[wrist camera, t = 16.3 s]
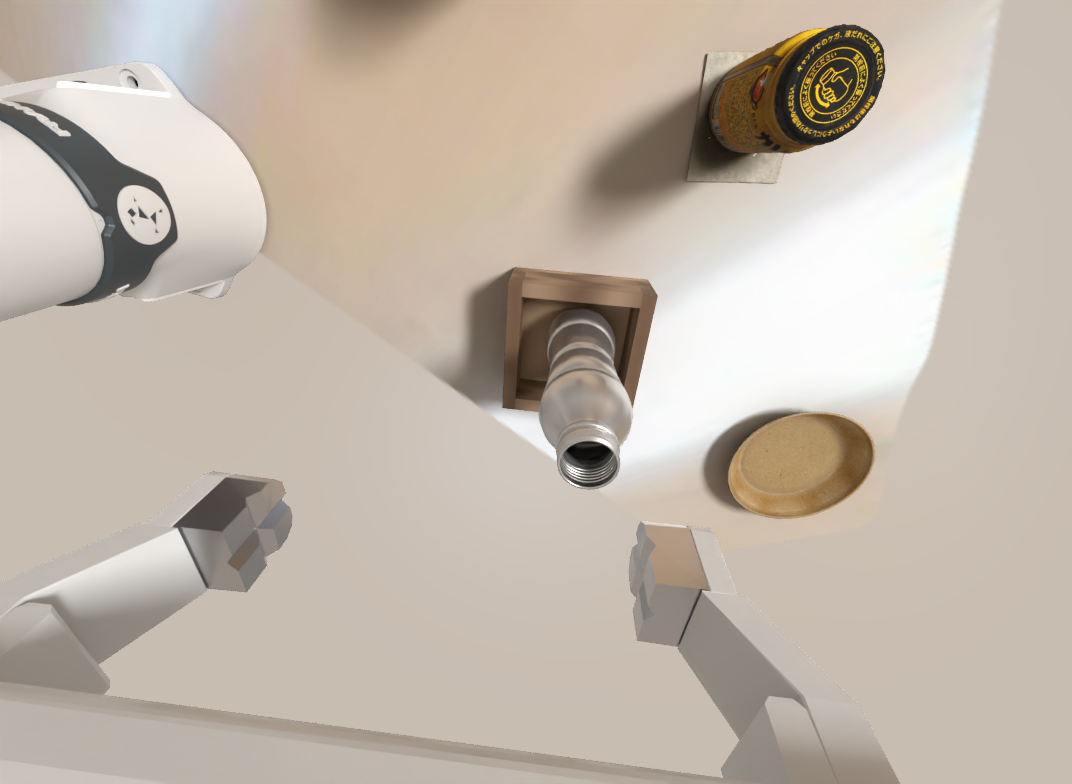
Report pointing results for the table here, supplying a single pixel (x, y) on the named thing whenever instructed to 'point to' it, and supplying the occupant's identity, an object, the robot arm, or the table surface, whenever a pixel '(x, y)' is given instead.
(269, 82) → the table surface
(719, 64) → the condiment
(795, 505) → the plant saucer
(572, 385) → the plastic bottle
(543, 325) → the tray
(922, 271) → the table surface
